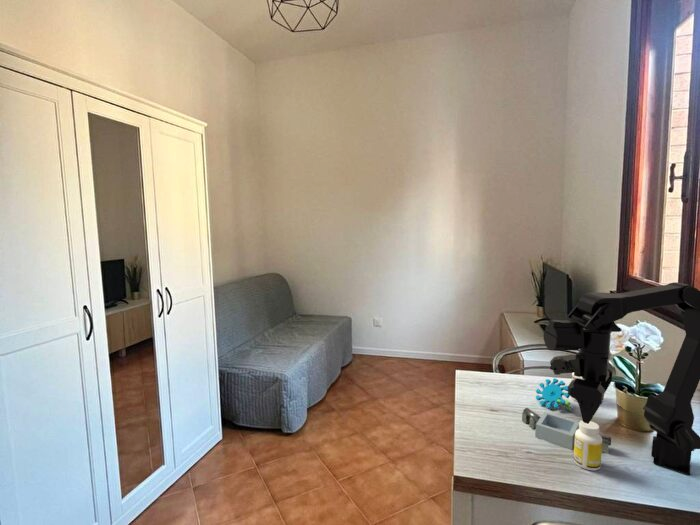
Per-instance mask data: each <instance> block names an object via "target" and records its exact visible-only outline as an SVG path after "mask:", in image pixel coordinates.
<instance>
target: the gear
mask: <svg viewBox="0 0 700 525" xmlns="http://www.w3.org/2000/svg"><path fill="white" fill-rule="evenodd" d="M545 383H546V384H544V383H543V382H541V383H539V384H538V386H539V387H540V388H542V390H540V389H539V388H536V390H535V392H536V393H537V395H535V399H536V400H537V401H539V405H540V406H542V407H544V406H545V407H546V409H549V410H551V409H552V406H553V407H554V408H555V409H559V408H560V405H561V406H562V407H563V408H566V409H567V410H568V411H571V410H572V408H571V407H570V406H571V405H572V404H571V402H570V401H569V400H566V399H569V398H570V397H571V396H570V395H568V386H569V385H566V383H565V381H563V380H560V381H559V379H557V378H556V377H553V379H552V380H551V379H550V378H547V379H545ZM564 391H566V392H564ZM538 394H539V395H538ZM540 395H541V396H540ZM563 396H564V397H565V398H566V399H564V398H563Z"/></svg>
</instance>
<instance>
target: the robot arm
mask: <svg viewBox="0 0 700 525" xmlns="http://www.w3.org/2000/svg"><path fill="white" fill-rule="evenodd" d="M673 305H675V306H676V307H677V308H678V309H679V310H681V311H682V312H684V313H683V317H682V323H683V328H684V331H685V337H684V339H683V341H682V344H681V347H680V349H679V351H678V354H677V356H676V358H675V361H674V364H673V366H672V369H671V372H670V374H669V375H668V376H669V377H668V379H667V381H666V383H665V386H664V389H663V391H661V392H660V393H658V394H656V395H654V394H649V395H648V396H647V399H646V402H645V404H644V406H643V407H642V410H644V411H643V417H644V418H645V420H646V422H647V423H648V426H649V428H650V429H651V430H652V431H654V432H656V435H653V437H652V443H651V444H652V445H651V453H650V454H651V455H650V456H651V457H652V458H653V461H652V463H653V464H655V465H657V466H660V467H663V468H666V469H668V470H671V471H675V472H678V473H680V474H684V475H687V476H691V473H692V472H691V459H692V452H694V451H695V450H700V436H699V434H698V433H697V432H696V431H695V430H694V429H693V425H694V421H695V415H694V412H693V411H694V410H693V407H692V400H693V398H694V395H695V393H696V390H697V389H698V388H697V387H698V385H699V383H700V290H699V289H698V288H697V287H695V286H693V285H691V284H687V283H681V282H678V281H677V282H675V281H674V282H669V283H668V284H665V285H658V286H653V287H647V288H642V289H637V290H630V291H626V292H620V293H617V292H616V293H614V292H587V293H584V294H582V295H581V296H580V297H579V300H578V302H577V304H576V305H575V306H574V307H573V309H572V310H570V312H569V313H568V315H567V316H566V317H565V320H562V319H561V320H558V319H549V322H548V325H547V326H545V329H544V331H543V334H542V335H543V340H544V345H545V347H546V348H547V349H548V350H549V351H552V352H554V351H578V352H577V353H575V354H566V355H557V356H554V357H553V358H552V359H551V360H550V361H549V362H550V366H549V369H550V370H551V371H552V372H553V374H554V376H555V375H557V376H559V375H561V374H563V375H564V374H572V373H573V372H574V376H578V377H582V378H583V379H584V380H582V379H578V378H576V379H574V380H572V379H571V381H570V382H569V384H568V385H567V386H568V391H567V393H568V395H570V396H569V397H570V398H571V397H572V398H575V399H576V400H577V401H578V402H577V404H578V407H579V410H580V411H579V412H580V415H581V420H583V422H584V423H587V424H589V422H590V421H592V419H593V417H594V416H595V414H596V413H597V411H598V409H599V408H600V407H601V405H602V404H603V401H604V399H605V398H604V396H605V393H606V392H607V390H608V389H609V386H610V385H611V382H612V381H613V378H614V373H615V368H614V366H612V365H611V363H610V360H611V356H612V355H611V353H610V349H611V338H612V337H611V335H612V333H620V332H622V328H621V327H619V326H618V325H617V324H616V321H619V320H622V319H623V318H624V317H626V316H627V315H628V314H631V313H634V312H640V311H646V310H651V309H657V308H662V307H663V308H664V307H667V306H673ZM584 317H585V318H584ZM572 398H571V399H572Z"/></svg>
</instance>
